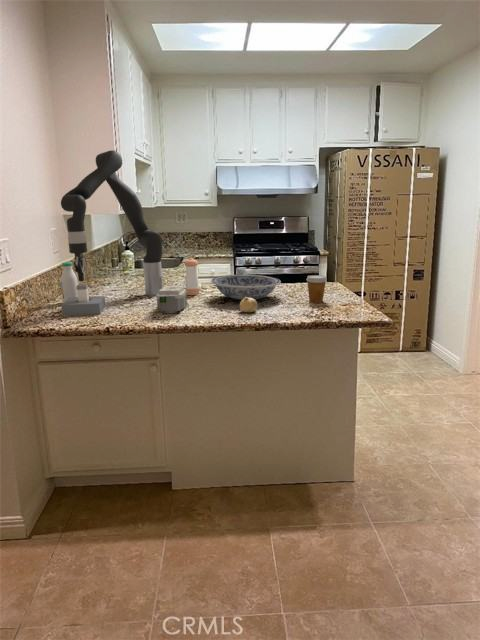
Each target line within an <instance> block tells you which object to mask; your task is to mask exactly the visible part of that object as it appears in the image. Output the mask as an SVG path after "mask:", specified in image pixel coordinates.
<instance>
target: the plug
mask: <svg viewBox="0 0 480 640" xmlns="http://www.w3.org/2000/svg"><path fill="white" fill-rule="evenodd" d="M76 287H77V295H78V302H89V297H90V294H89V286H88V284H87V283H83V284H78V285H77V286H76Z"/></svg>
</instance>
